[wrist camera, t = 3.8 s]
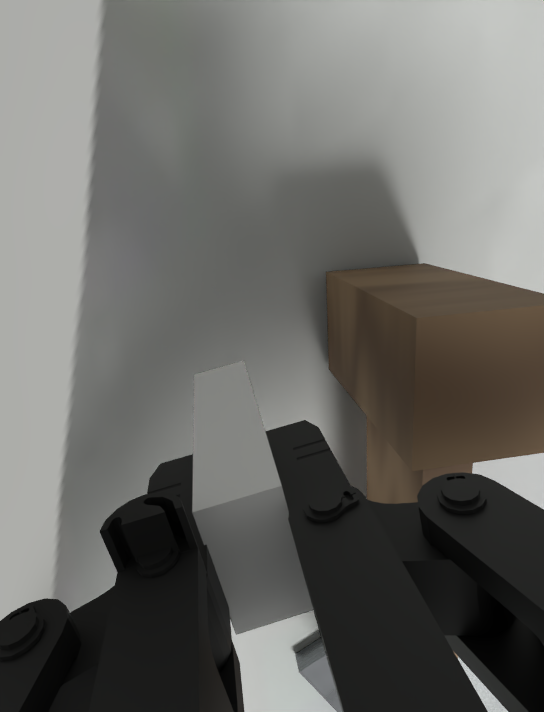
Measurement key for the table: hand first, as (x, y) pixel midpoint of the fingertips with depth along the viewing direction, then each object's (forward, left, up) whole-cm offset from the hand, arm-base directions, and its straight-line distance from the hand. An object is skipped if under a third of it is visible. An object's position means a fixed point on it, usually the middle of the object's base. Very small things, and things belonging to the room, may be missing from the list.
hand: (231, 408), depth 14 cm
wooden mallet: (+2, -8, -5) cm, 10 cm away
